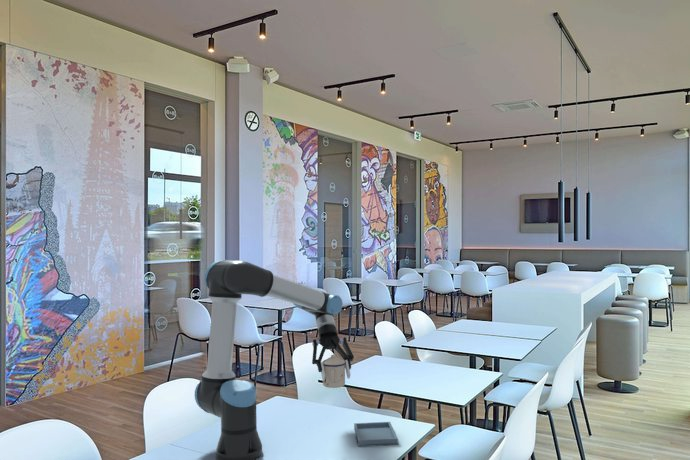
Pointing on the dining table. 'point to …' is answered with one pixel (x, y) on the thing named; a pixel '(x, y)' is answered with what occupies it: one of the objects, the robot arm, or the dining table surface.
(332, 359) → the teacup with lid
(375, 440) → the slate tray
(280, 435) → the dining table surface
